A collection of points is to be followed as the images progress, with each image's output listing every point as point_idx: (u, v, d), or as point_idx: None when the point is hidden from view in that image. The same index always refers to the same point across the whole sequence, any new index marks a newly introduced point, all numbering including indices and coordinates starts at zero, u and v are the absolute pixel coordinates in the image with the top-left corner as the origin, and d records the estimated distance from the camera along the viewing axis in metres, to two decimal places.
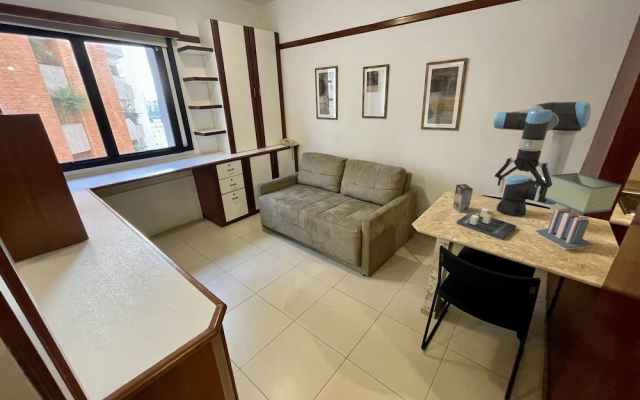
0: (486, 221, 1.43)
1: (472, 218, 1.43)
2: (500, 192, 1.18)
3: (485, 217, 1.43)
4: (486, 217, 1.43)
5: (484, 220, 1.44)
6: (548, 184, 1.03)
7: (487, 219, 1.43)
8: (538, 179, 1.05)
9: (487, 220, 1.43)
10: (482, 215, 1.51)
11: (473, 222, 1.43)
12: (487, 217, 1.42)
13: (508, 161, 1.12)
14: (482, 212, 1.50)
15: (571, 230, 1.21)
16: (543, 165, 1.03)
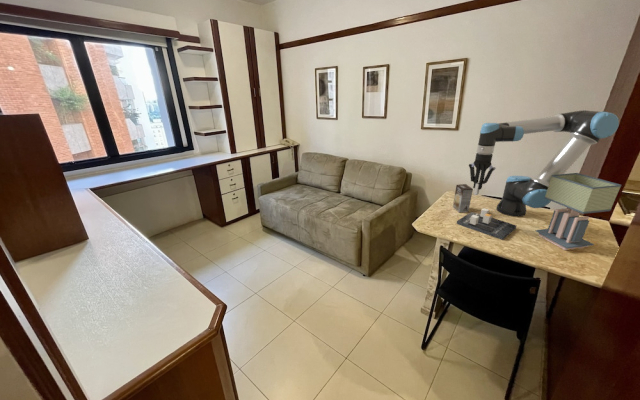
0: (486, 221, 1.43)
1: (472, 218, 1.43)
2: None
3: (485, 217, 1.43)
4: (486, 217, 1.43)
5: (484, 220, 1.44)
6: (484, 182, 1.39)
7: (487, 219, 1.43)
8: (481, 177, 1.40)
9: (487, 220, 1.43)
10: (482, 215, 1.51)
11: (473, 222, 1.43)
12: (487, 217, 1.42)
13: (470, 166, 1.42)
14: (482, 212, 1.50)
15: (571, 230, 1.21)
16: (491, 169, 1.34)
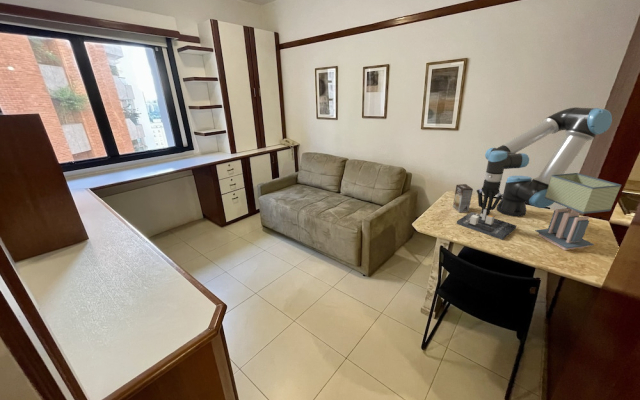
0: (489, 222, 1.42)
1: (472, 218, 1.43)
2: None
3: (488, 218, 1.42)
4: (489, 218, 1.42)
5: (487, 221, 1.43)
6: (492, 208, 1.39)
7: (490, 220, 1.42)
8: (489, 204, 1.40)
9: (490, 221, 1.42)
10: None
11: (473, 222, 1.43)
12: (490, 218, 1.41)
13: (478, 191, 1.43)
14: None
15: (571, 230, 1.21)
16: (499, 196, 1.35)
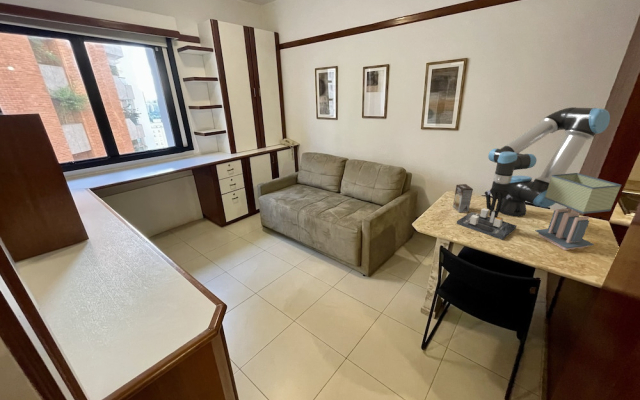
0: (497, 224, 1.39)
1: (472, 218, 1.43)
2: None
3: (496, 220, 1.39)
4: (497, 220, 1.39)
5: (495, 223, 1.40)
6: (501, 210, 1.36)
7: (498, 222, 1.39)
8: (497, 206, 1.37)
9: (498, 223, 1.39)
10: (482, 215, 1.51)
11: (473, 222, 1.43)
12: (498, 220, 1.38)
13: (486, 193, 1.40)
14: (482, 212, 1.50)
15: (571, 230, 1.21)
16: (509, 198, 1.32)
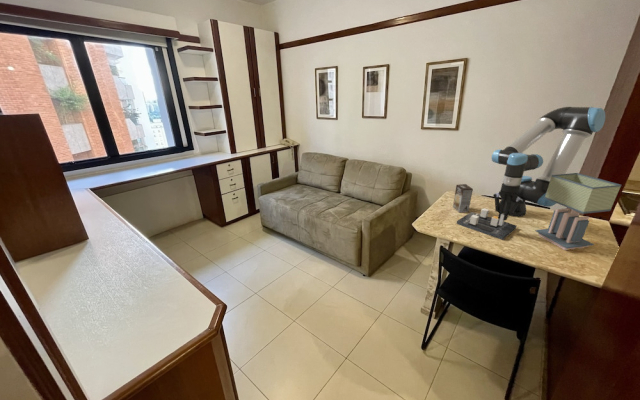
0: (494, 224, 1.40)
1: (472, 218, 1.43)
2: None
3: (493, 219, 1.40)
4: (494, 220, 1.40)
5: (492, 223, 1.41)
6: (510, 213, 1.33)
7: (495, 222, 1.40)
8: (507, 208, 1.34)
9: (495, 223, 1.40)
10: (482, 215, 1.51)
11: (473, 222, 1.43)
12: (495, 220, 1.39)
13: (495, 196, 1.36)
14: (482, 212, 1.50)
15: (571, 230, 1.21)
16: (519, 201, 1.28)
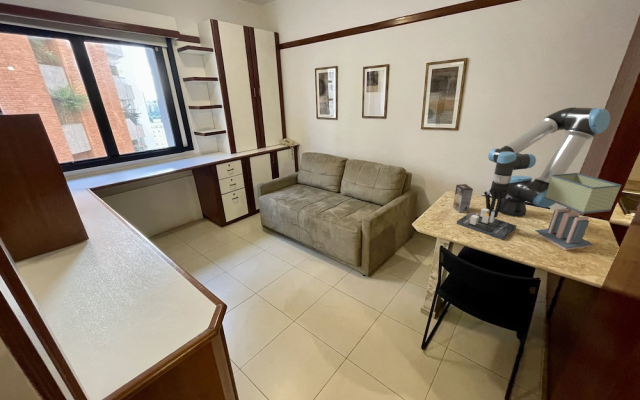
0: (485, 221, 1.44)
1: (472, 218, 1.43)
2: (491, 221, 1.42)
3: (484, 217, 1.44)
4: (485, 217, 1.43)
5: (483, 220, 1.44)
6: (500, 210, 1.36)
7: (486, 219, 1.43)
8: (497, 206, 1.37)
9: (486, 220, 1.43)
10: (482, 215, 1.51)
11: (473, 222, 1.43)
12: (486, 217, 1.43)
13: (486, 193, 1.40)
14: (482, 212, 1.50)
15: (571, 230, 1.21)
16: (508, 198, 1.32)
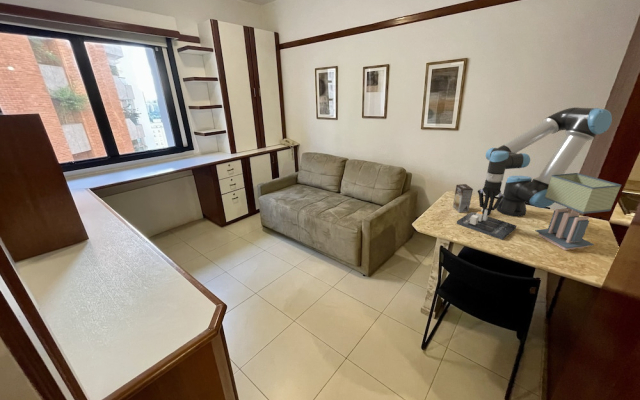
0: (479, 219, 1.46)
1: (472, 218, 1.43)
2: None
3: (478, 215, 1.46)
4: (479, 215, 1.46)
5: None
6: (493, 208, 1.39)
7: (480, 217, 1.46)
8: (490, 204, 1.40)
9: (480, 218, 1.46)
10: None
11: (473, 222, 1.43)
12: (480, 215, 1.45)
13: (479, 192, 1.42)
14: None
15: (571, 230, 1.21)
16: (501, 196, 1.34)
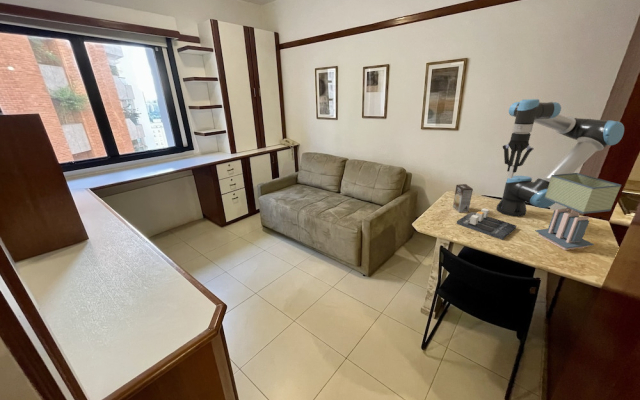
0: (479, 219, 1.46)
1: (472, 218, 1.43)
2: (509, 177, 1.35)
3: (478, 215, 1.46)
4: (479, 215, 1.46)
5: None
6: (520, 164, 1.30)
7: (480, 217, 1.46)
8: (517, 159, 1.30)
9: (480, 218, 1.46)
10: None
11: (473, 222, 1.43)
12: (480, 215, 1.45)
13: (504, 147, 1.33)
14: None
15: (571, 230, 1.21)
16: (529, 149, 1.25)
